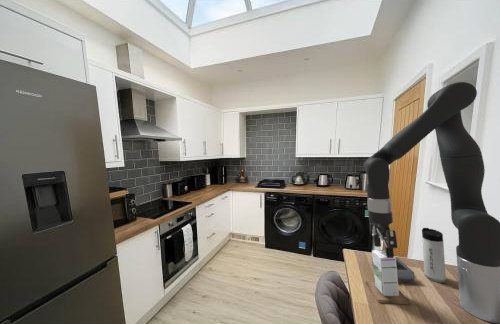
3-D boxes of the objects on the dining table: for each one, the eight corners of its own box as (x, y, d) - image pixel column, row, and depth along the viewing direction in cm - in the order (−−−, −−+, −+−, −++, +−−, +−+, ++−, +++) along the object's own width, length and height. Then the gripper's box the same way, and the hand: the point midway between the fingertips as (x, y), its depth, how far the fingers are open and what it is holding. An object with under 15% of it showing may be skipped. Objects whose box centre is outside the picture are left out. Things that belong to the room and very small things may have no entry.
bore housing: (398, 266, 85) (397, 257, 85) (414, 282, 74) (414, 272, 74) (372, 265, 87) (371, 257, 87) (385, 280, 76) (384, 271, 76)
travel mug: (435, 272, 79) (432, 227, 79) (450, 282, 72) (447, 233, 72) (420, 272, 79) (417, 227, 79) (433, 282, 73) (430, 233, 73)
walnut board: (392, 284, 73) (392, 282, 73) (409, 304, 63) (409, 301, 63) (365, 283, 75) (365, 281, 75) (378, 302, 65) (378, 299, 65)
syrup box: (399, 296, 66) (397, 257, 66) (382, 296, 67) (380, 257, 67) (389, 285, 72) (386, 249, 72) (373, 285, 72) (371, 249, 72)
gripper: (402, 214, 62) (407, 261, 61) (380, 204, 76) (383, 243, 75) (378, 215, 63) (382, 261, 63) (360, 205, 77) (364, 243, 77)
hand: (383, 251), depth 69 cm, fingers open, 8 cm apart
